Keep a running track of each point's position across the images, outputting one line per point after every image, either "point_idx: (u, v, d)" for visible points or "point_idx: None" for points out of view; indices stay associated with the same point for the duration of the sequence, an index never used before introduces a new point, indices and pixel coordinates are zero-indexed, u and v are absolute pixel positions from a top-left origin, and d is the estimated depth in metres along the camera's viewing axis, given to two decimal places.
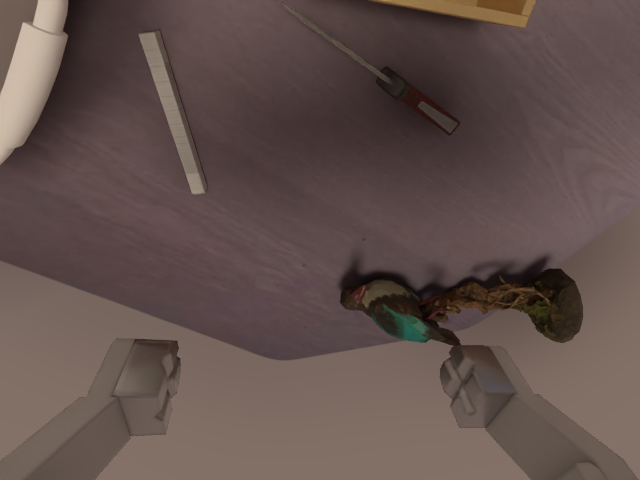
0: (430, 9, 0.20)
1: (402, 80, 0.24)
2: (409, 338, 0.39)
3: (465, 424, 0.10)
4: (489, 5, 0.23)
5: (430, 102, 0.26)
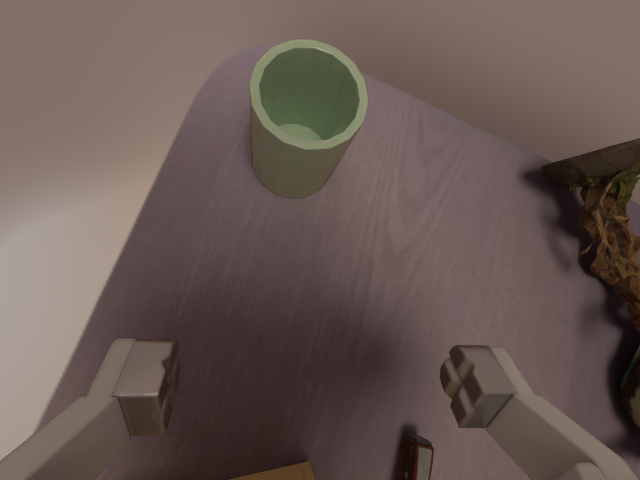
0: None
1: None
2: None
3: (465, 424, 0.10)
4: None
5: None
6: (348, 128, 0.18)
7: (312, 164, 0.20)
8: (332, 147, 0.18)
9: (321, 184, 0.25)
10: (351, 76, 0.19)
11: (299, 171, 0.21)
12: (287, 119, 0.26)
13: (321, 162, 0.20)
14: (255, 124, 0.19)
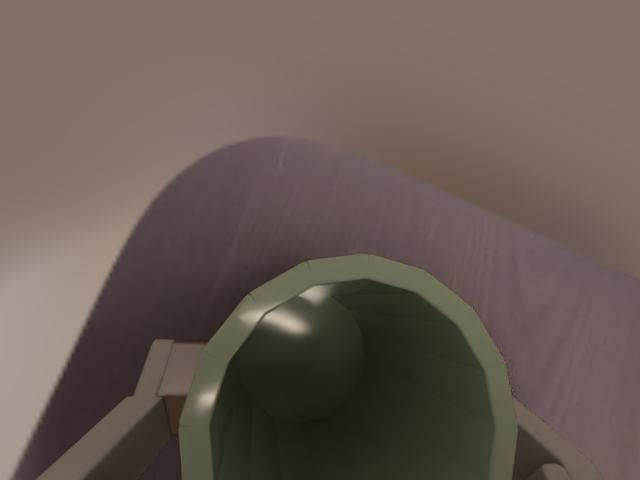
0: None
1: None
2: None
3: None
4: None
5: None
6: None
7: None
8: None
9: None
10: (467, 347, 0.07)
11: None
12: None
13: None
14: None
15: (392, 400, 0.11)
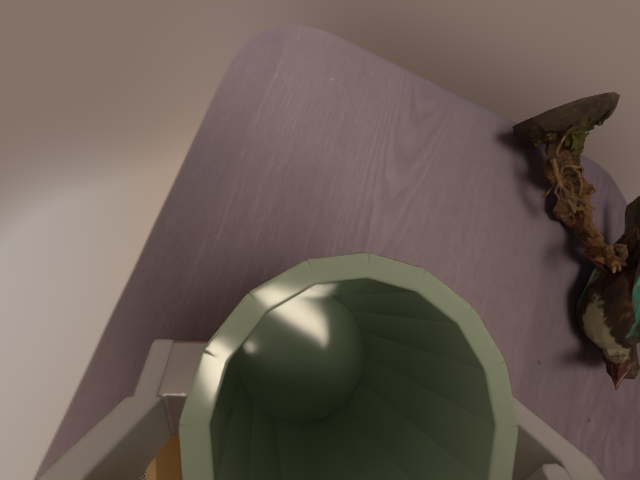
0: None
1: None
2: None
3: None
4: None
5: None
6: None
7: None
8: None
9: None
10: (467, 346, 0.07)
11: None
12: None
13: None
14: None
15: (392, 399, 0.11)
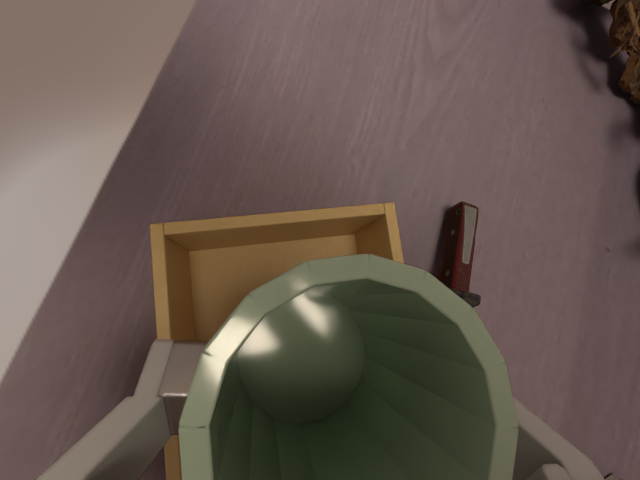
0: None
1: None
2: None
3: None
4: (357, 229, 0.22)
5: (459, 250, 0.23)
6: None
7: None
8: None
9: None
10: (467, 347, 0.07)
11: None
12: None
13: None
14: None
15: (392, 400, 0.11)
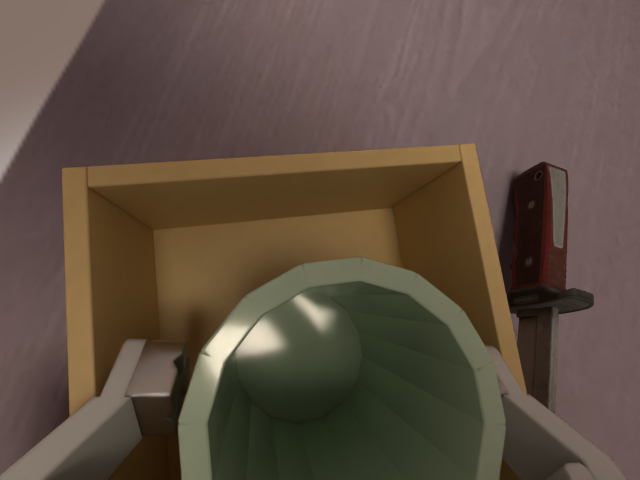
0: (512, 331, 0.11)
1: (558, 300, 0.14)
2: None
3: None
4: (402, 197, 0.15)
5: (547, 228, 0.16)
6: None
7: None
8: None
9: None
10: (457, 347, 0.07)
11: None
12: None
13: None
14: None
15: (387, 398, 0.11)
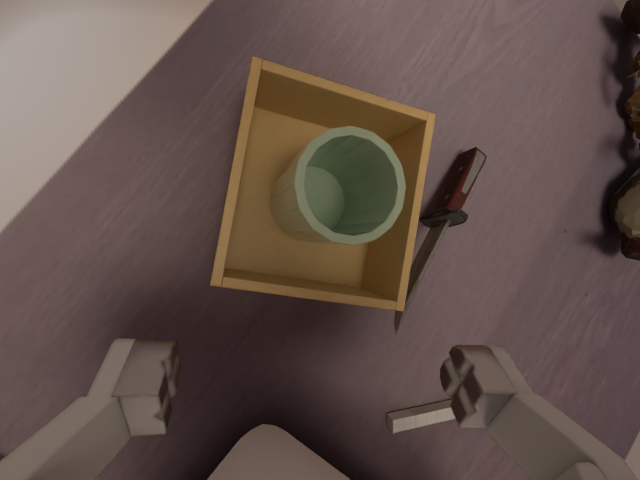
0: (420, 204, 0.23)
1: (451, 214, 0.26)
2: None
3: (465, 424, 0.10)
4: (392, 136, 0.27)
5: (462, 181, 0.28)
6: (376, 230, 0.19)
7: None
8: None
9: None
10: (395, 177, 0.19)
11: (316, 240, 0.21)
12: (317, 164, 0.26)
13: (339, 244, 0.20)
14: (290, 194, 0.19)
15: (354, 221, 0.24)
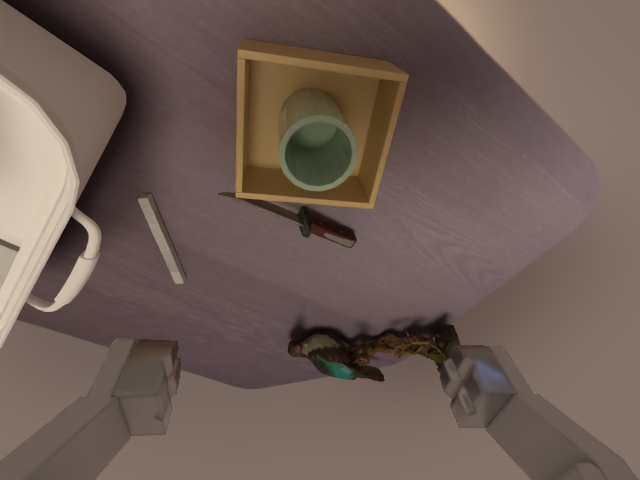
0: (312, 203, 0.33)
1: (308, 226, 0.38)
2: (340, 377, 0.52)
3: (465, 424, 0.10)
4: (361, 181, 0.37)
5: (331, 232, 0.40)
6: (290, 173, 0.28)
7: None
8: None
9: None
10: (326, 183, 0.29)
11: (279, 130, 0.29)
12: None
13: (278, 148, 0.29)
14: (310, 111, 0.26)
15: (296, 157, 0.32)
